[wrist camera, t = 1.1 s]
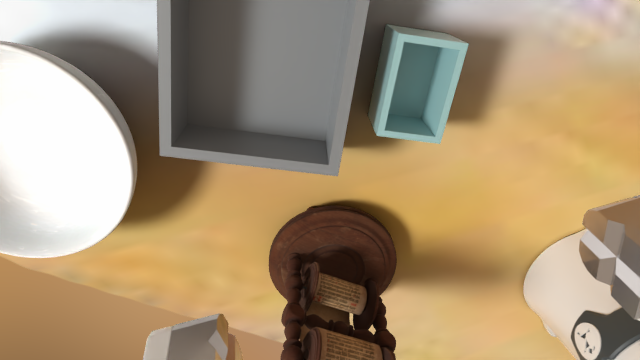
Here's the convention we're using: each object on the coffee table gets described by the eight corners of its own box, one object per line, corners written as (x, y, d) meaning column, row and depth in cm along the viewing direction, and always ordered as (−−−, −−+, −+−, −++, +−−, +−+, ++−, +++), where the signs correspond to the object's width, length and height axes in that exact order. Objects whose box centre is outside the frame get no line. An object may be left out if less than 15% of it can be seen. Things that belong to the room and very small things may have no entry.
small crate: (447, 33, 42) (468, 43, 36) (423, 122, 45) (440, 143, 40) (386, 24, 41) (398, 33, 36) (367, 115, 45) (376, 135, 39)
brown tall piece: (252, 279, 54) (229, 437, 36) (297, 180, 48) (295, 310, 30) (360, 312, 57) (387, 472, 39) (414, 223, 51) (475, 363, 33)
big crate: (371, -79, 37) (385, -88, 31) (332, 147, 46) (337, 176, 40) (180, -113, 36) (154, -129, 29) (179, 128, 45) (159, 155, 38)
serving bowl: (155, 232, 50) (134, 269, 44) (-40, 210, 48) (-90, 246, 42) (154, 48, 41) (128, 63, 35) (-85, 11, 39) (-158, 20, 33)
